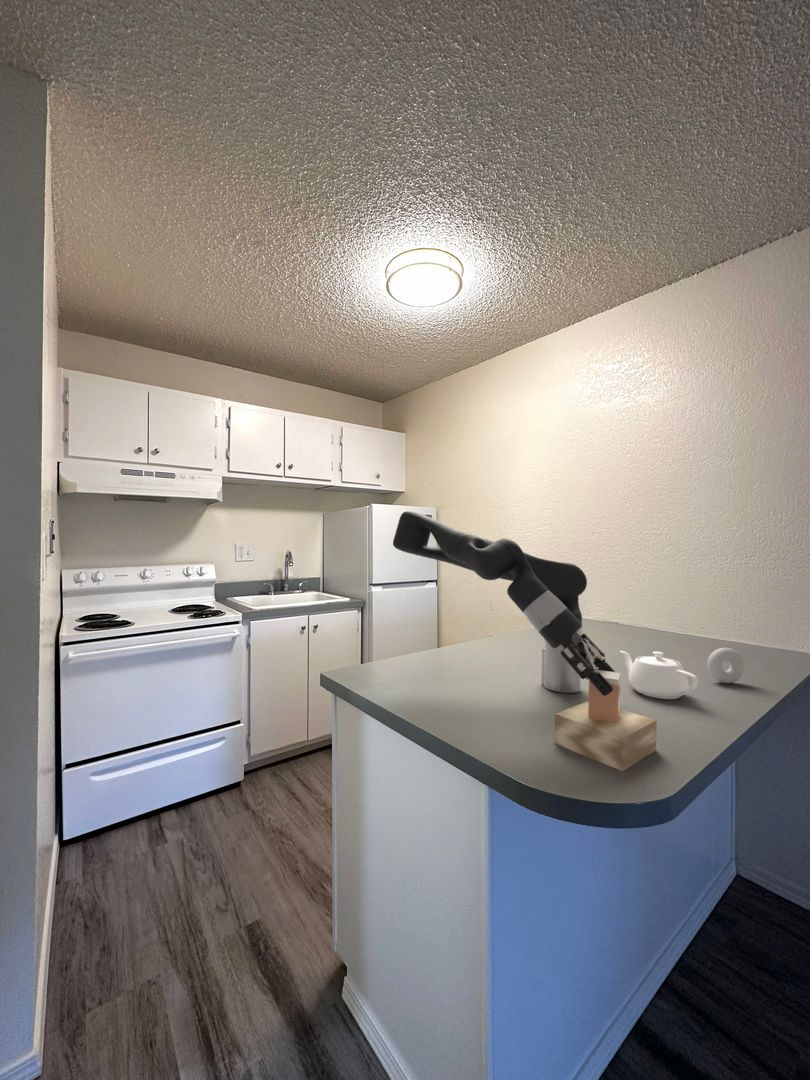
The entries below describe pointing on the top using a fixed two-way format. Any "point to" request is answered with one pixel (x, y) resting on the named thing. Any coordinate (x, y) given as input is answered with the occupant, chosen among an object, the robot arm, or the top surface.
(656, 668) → the teapot
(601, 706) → the cube
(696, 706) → the top surface
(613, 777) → the top surface
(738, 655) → the donut
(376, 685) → the top surface
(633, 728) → the pine box
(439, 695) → the top surface
